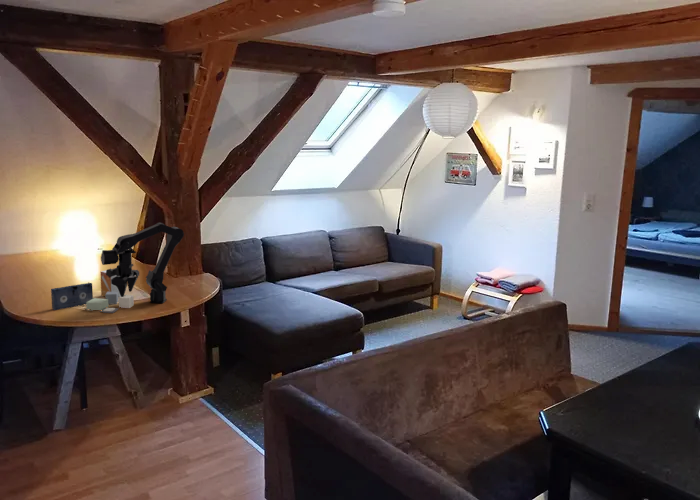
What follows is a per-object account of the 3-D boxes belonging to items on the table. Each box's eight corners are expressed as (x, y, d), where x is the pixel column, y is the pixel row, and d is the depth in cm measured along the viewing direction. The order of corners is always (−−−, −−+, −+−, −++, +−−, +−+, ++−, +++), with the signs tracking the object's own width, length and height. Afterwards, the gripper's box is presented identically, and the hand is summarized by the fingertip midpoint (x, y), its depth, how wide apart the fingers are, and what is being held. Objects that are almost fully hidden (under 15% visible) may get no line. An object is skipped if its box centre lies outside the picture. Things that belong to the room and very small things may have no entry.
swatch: (118, 309, 261) (118, 307, 261) (112, 313, 255) (112, 311, 255) (105, 308, 261) (105, 307, 261) (100, 312, 255) (100, 310, 255)
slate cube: (118, 301, 274) (118, 291, 273) (116, 304, 269) (116, 294, 268) (107, 301, 273) (107, 291, 272) (105, 304, 268) (105, 294, 267)
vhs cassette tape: (91, 301, 270) (90, 282, 268) (93, 303, 268) (93, 283, 267) (51, 309, 257) (50, 288, 255) (54, 310, 255) (52, 289, 253)
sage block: (108, 307, 264) (108, 299, 264) (101, 311, 257) (100, 303, 257) (94, 306, 265) (93, 298, 264) (86, 310, 258) (86, 302, 257)
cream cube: (133, 305, 269) (133, 295, 268) (129, 308, 264) (129, 298, 263) (123, 304, 269) (123, 294, 268) (119, 307, 264) (118, 297, 263)
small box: (101, 296, 280) (99, 271, 278) (111, 293, 286) (110, 269, 283) (111, 298, 276) (110, 273, 274) (122, 296, 282) (121, 271, 279)
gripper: (116, 257, 271) (118, 288, 274) (99, 266, 253) (100, 298, 256) (139, 258, 271) (140, 289, 274) (123, 267, 253) (124, 300, 256)
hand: (126, 294), depth 265 cm, fingers open, 9 cm apart
